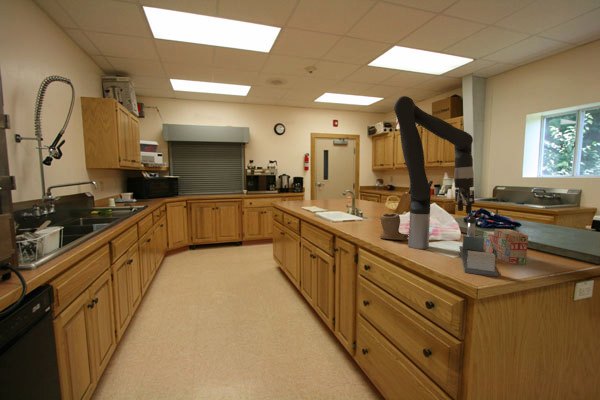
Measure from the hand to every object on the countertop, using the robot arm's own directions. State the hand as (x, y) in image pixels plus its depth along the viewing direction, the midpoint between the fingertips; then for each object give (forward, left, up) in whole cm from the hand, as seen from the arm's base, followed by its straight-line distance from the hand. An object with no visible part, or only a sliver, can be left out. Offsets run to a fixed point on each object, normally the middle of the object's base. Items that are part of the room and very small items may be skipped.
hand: (464, 212), depth 121 cm
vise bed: (+4, -13, -19) cm, 23 cm away
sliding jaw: (+4, +7, -17) cm, 19 cm away
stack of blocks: (+15, 0, -19) cm, 25 cm away
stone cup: (-33, +10, -19) cm, 40 cm away
